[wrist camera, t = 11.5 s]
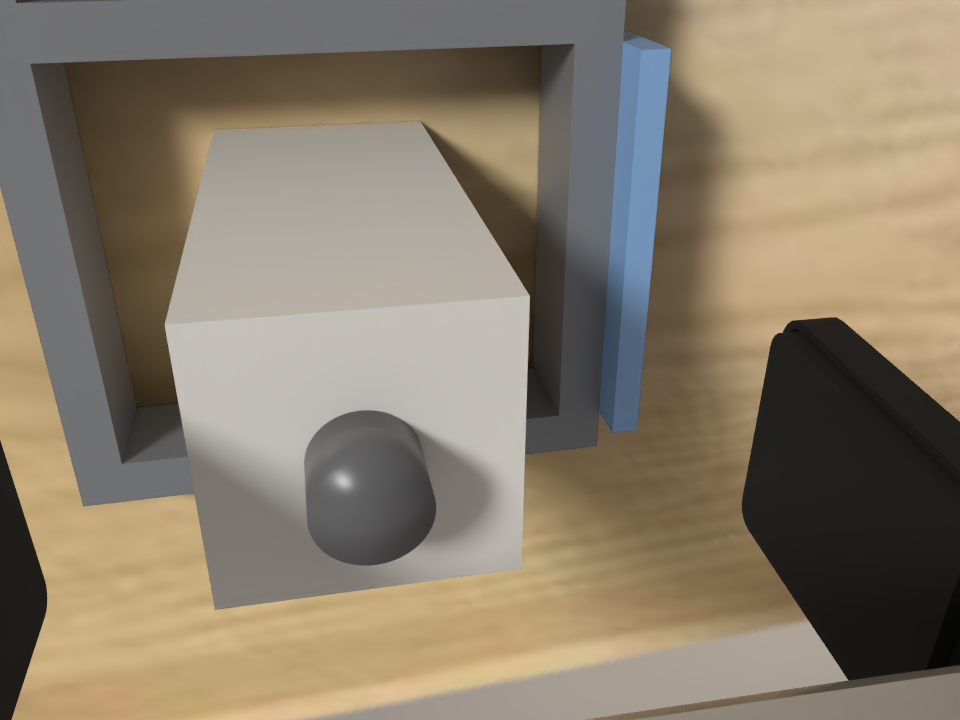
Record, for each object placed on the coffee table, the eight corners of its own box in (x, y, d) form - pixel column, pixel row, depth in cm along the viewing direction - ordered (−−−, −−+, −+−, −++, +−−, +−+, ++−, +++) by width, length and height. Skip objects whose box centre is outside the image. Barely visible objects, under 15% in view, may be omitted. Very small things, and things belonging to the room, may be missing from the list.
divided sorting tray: (650, -634, 15) (744, -765, 12) (589, 394, 24) (633, 465, 21) (-176, -717, 13) (-314, -903, 10) (101, 446, 22) (75, 534, 19)
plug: (419, 120, 20) (555, 336, 10) (425, 303, 22) (542, 624, 13) (214, 129, 19) (152, 372, 10) (239, 318, 22) (209, 673, 12)
